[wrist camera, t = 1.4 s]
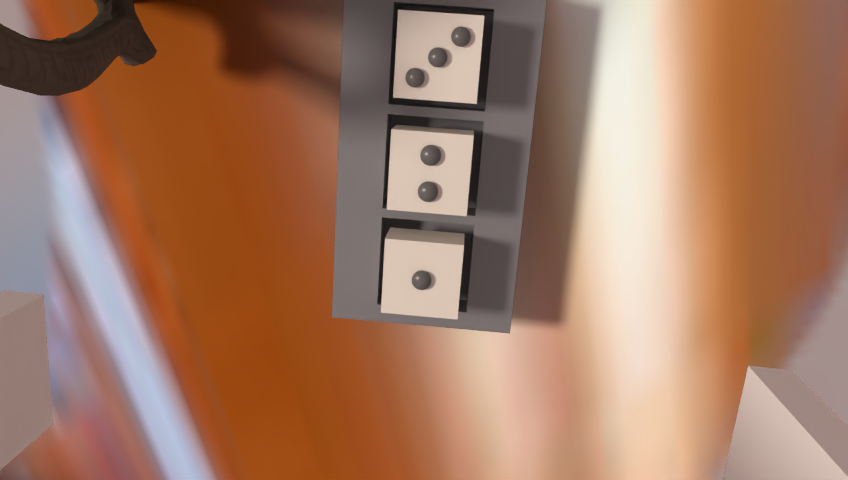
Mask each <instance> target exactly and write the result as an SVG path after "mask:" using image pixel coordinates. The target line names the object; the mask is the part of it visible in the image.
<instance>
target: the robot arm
mask: <svg viewBox="0 0 848 480" xmlns="http://www.w3.org/2000/svg"><path fill="white" fill-rule="evenodd" d="M52 425H53V417H52V403H51V389H50V375H49V362H48V348H47V334H46V320H45V307H44V295H43V294H33V293H23V292H13V291H3V292H1V293H0V470H1V469H2V468H3V467H4V466H6V465H7V464H8V463H9V462H10V461H11V460H12V459H14V458H15V457H16V456H17V455H18V454H19V453H20V452H22V451H23V450H24V449H25V448H26V447H27V446H29V445H30V444H31V443H32V442H33V441H34V440H35V439H37V438H38V437H39V436H40V435H41V434H42V433H43V432H45V431H46V430H47V429H48V428H49V427H50V426H52ZM723 480H848V425H847V424H846V423H845V422H844V421H843V420H842V419H841V418H840V417H839V416H838V415H837V414H836V413H835V412H834V411H833V410H832V409H831V408H830V407H829V406H828V405H827V404H826V403H825V402H824V401H822V399H820V398H819V397H818V396H817V395H816V394H815V393H814V392H813V391H812V390H811V389H810V388H809V387H808V386H807V385H806V384H805V383H804V382H803V381H802V380H801V379H800V378H799V377H798V376H797V375H796V374H795V373H794V372H793V371H792V370H783V369H774V368H764V367H754V366H748V370H747V374H746V379H745V383H744V388H743V392H742V397H741V401H740V406H739V410H738V415H737V419H736V423H735V428H734V432H733V437H732V441H731V446H730V450H729V455H728V459H727V464H726V468H725V473H724V477H723Z"/></svg>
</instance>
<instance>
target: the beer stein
mask: <svg viewBox="0 0 848 480" xmlns="http://www.w3.org/2000/svg"><path fill="white" fill-rule="evenodd" d="M94 1H95V3H96V4H97V8H98V14H97V16H96V17H95V19H94V20H93V21H92V22H91V23H90V24H88V25H87V26H85V27H84V28H83V29H81V30H80V31H78V32H76V33H72V34H70V35H68V36H67V37H65V38H56V39H54V40H51V41H47V40H39V39H32V38H28V37H26V36H23V35H21V34H19V33H17V32H15V31H13V30H11V29H9V28H7V27H5V26H3V25H2V24H0V84H1V85H3V86H6V87H10V88H14V89H18V90H22V91H25V92H29V93H33V94H37V95H50V96H59V95H63V94H66V93H70V92H74V91H78V90H81V89H83V88H85V87H87V86H88V85H90V84H91V83H92V82H93V81H94V80H96V79H97V78H98V77H99V76H100V75H101V74H102V73H103V72H104V70H105V69H106V68H107V67H108V66H109V65H110V64H111V63H112V61H113V60H114V59H115V58H116V57H117V56H120V57H121V59H122V60H123V61H124V63H125V64H128V65H131V66H135V65H139V64H144V63H146V62H147V61H149V60H150V59H152V58H153V57H154V56H155V54H156V51H157V50H156V49H155V47H154V45H153V44H152V42H151V41H150V39H149V37H148V36H147V34H146V33H145V31H144V29H143V27H142V25H141V23H140V21H139V19H138V17H137V15H136V13H135V9H134V4H133V0H94Z"/></svg>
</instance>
